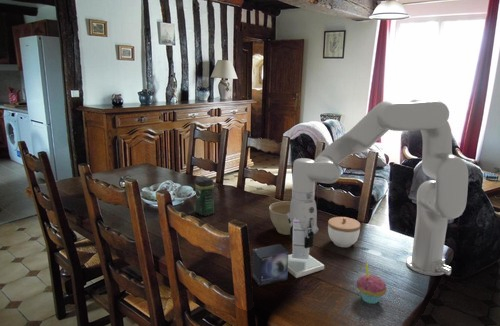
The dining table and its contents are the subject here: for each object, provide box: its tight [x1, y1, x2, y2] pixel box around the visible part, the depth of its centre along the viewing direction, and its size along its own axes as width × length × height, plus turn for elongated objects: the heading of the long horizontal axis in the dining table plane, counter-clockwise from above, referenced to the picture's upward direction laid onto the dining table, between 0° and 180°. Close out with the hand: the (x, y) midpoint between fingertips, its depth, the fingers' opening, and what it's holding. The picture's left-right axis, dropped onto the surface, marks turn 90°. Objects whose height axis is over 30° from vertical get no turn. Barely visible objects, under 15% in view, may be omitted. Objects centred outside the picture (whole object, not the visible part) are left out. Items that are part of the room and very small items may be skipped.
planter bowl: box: [268, 200, 291, 236], centre depth 153 cm, size 16×16×11 cm
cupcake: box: [356, 261, 387, 305], centre depth 105 cm, size 9×8×12 cm
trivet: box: [288, 253, 325, 279], centre depth 125 cm, size 12×12×2 cm
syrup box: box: [291, 217, 310, 259], centre depth 123 cm, size 6×6×14 cm
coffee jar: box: [194, 175, 215, 216], centre depth 173 cm, size 10×8×19 cm
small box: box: [251, 243, 290, 287], centre depth 116 cm, size 11×6×10 cm, turn 114°
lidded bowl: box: [327, 216, 361, 248], centre depth 141 cm, size 13×13×11 cm
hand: (301, 242), depth 123 cm, fingers closed on syrup box, 7 cm apart
